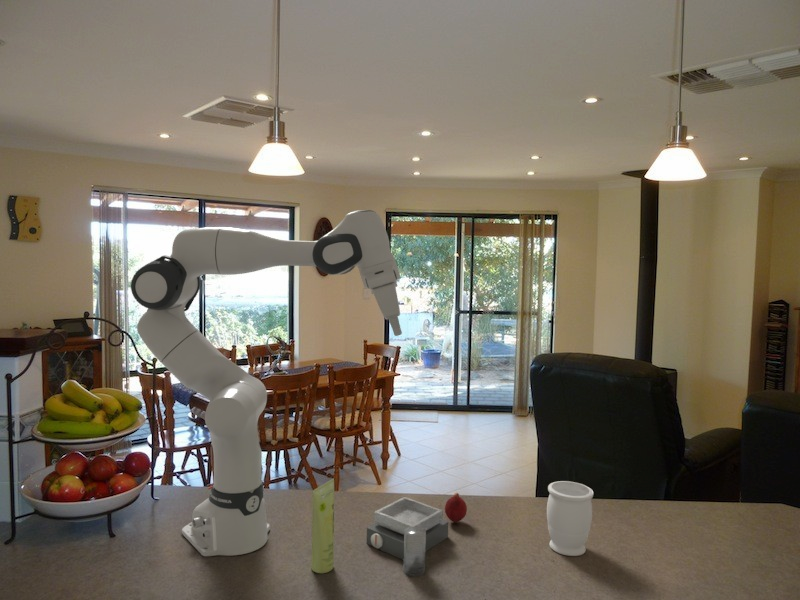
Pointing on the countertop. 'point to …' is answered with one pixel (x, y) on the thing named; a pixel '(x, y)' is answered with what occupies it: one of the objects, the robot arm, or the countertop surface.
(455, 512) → the onion
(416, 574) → the grey cylinder
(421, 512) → the pan
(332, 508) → the tube
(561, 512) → the jar
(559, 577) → the countertop surface
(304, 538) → the countertop surface
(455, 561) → the countertop surface
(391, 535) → the scale
